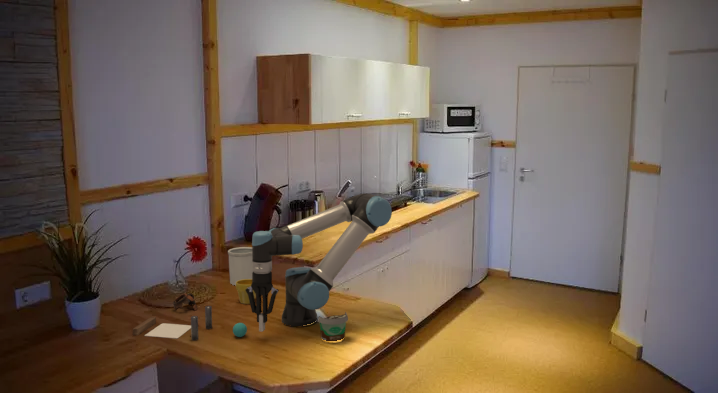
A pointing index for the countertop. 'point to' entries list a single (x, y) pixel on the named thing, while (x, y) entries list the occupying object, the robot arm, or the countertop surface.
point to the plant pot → (244, 290)
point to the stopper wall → (144, 326)
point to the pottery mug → (185, 301)
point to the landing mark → (169, 330)
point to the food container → (333, 327)
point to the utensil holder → (240, 264)
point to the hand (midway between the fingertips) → (262, 330)
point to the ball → (239, 329)
